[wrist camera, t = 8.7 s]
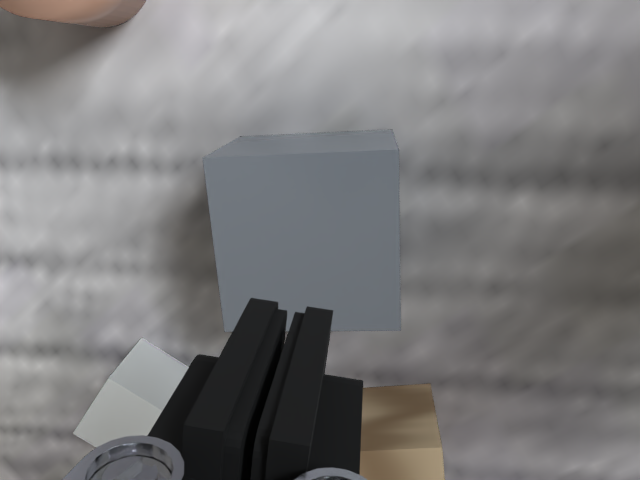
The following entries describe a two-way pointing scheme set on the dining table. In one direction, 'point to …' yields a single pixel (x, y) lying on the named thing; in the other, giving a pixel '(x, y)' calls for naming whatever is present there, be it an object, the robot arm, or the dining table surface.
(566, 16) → the dining table surface
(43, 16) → the terracotta cylinder
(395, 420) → the oak cube
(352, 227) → the slate block
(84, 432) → the pale grey block
